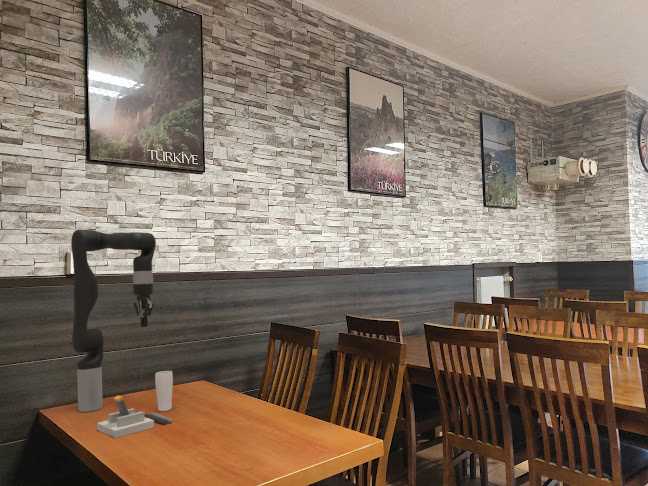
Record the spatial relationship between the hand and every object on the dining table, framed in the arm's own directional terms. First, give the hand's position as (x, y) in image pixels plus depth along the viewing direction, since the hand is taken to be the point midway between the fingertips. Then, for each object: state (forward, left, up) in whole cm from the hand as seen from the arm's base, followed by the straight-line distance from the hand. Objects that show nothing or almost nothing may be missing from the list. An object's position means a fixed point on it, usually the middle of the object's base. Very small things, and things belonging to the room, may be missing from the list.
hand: (144, 326), depth 193 cm
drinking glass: (-1, +9, -35) cm, 36 cm away
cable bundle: (+10, 0, -35) cm, 36 cm away
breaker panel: (+9, -12, -35) cm, 38 cm away
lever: (+10, -12, -31) cm, 34 cm away
